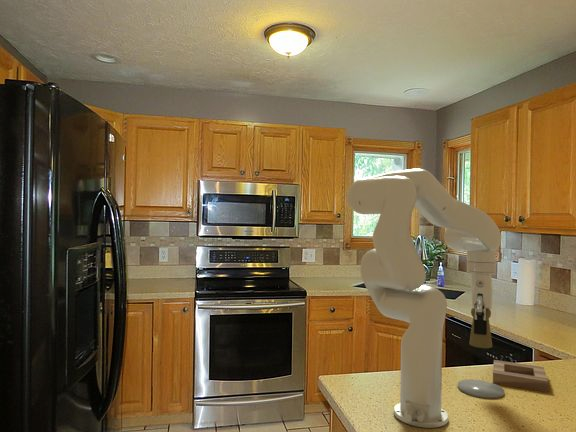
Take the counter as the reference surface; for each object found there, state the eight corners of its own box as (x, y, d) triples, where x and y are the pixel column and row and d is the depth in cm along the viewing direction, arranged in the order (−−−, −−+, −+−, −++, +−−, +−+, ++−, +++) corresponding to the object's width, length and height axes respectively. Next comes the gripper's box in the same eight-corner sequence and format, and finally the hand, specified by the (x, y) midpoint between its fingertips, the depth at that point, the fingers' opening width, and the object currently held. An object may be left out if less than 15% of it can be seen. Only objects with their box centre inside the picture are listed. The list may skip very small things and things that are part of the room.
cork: (471, 347, 117) (472, 307, 118) (467, 341, 123) (467, 303, 124) (495, 348, 116) (495, 308, 117) (489, 343, 122) (489, 304, 122)
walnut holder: (547, 392, 119) (547, 381, 119) (492, 382, 125) (492, 372, 125) (543, 376, 131) (543, 367, 131) (493, 369, 138) (493, 359, 138)
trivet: (504, 401, 111) (504, 398, 111) (455, 393, 117) (455, 390, 117) (504, 387, 122) (504, 384, 122) (459, 379, 128) (459, 376, 128)
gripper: (495, 271, 111) (494, 341, 111) (496, 266, 126) (496, 327, 126) (464, 269, 115) (464, 337, 114) (469, 265, 130) (468, 324, 129)
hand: (480, 331), depth 120 cm, fingers closed on cork, 4 cm apart
